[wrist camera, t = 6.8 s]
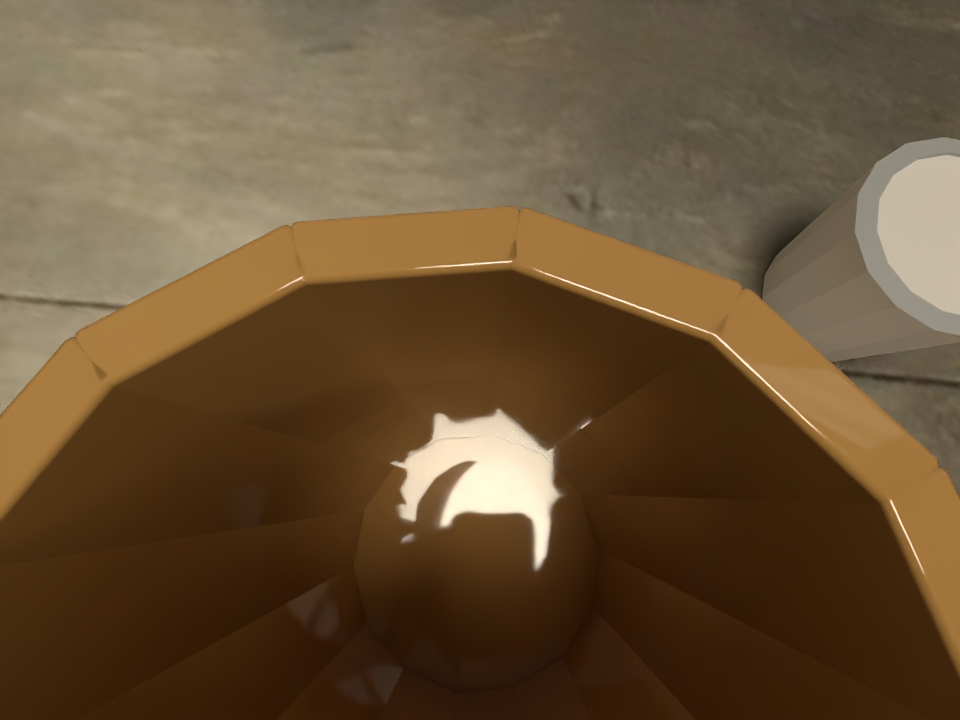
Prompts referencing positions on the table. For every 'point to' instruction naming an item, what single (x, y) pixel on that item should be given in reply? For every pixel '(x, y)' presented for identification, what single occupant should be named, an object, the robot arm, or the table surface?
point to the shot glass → (879, 260)
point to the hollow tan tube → (466, 496)
